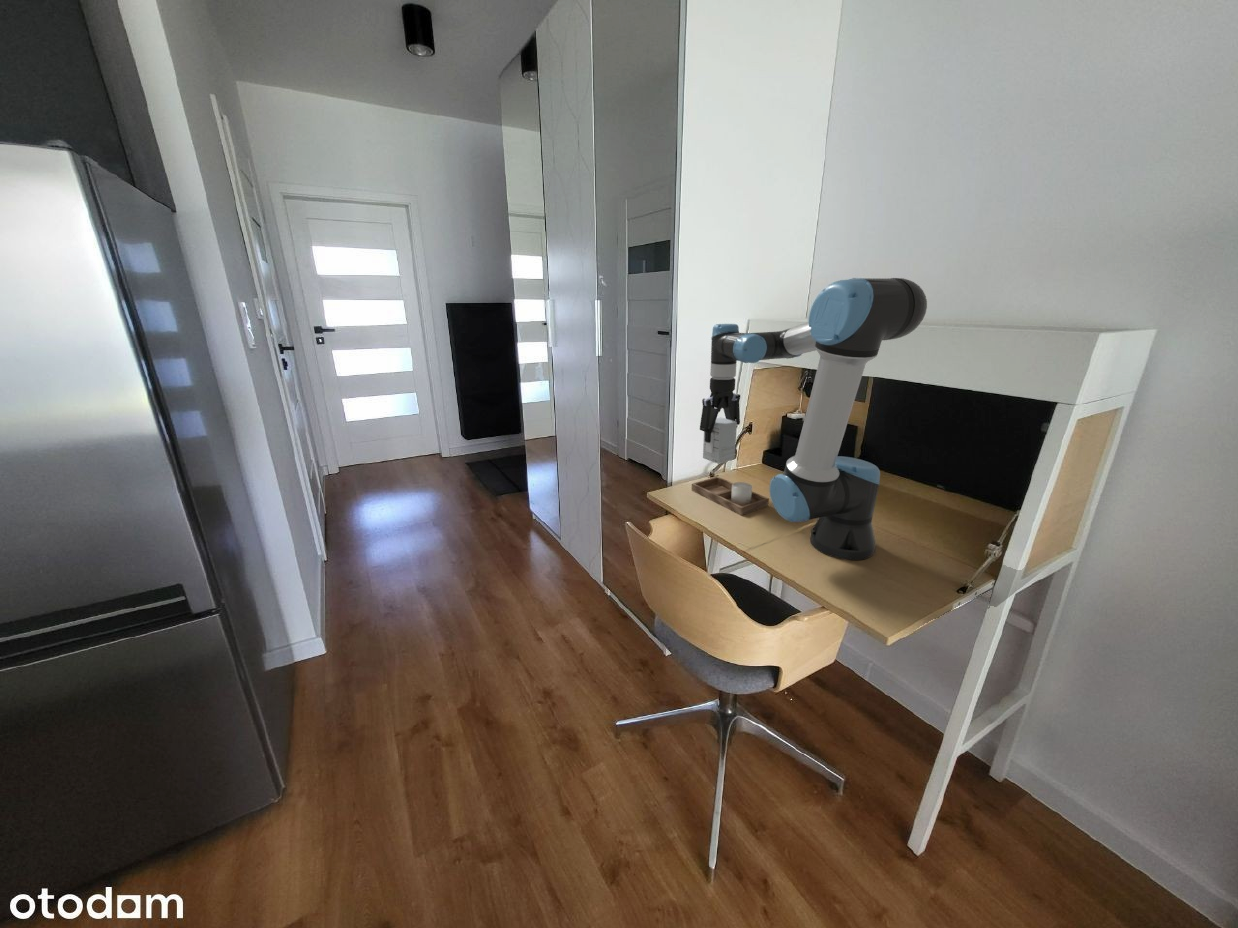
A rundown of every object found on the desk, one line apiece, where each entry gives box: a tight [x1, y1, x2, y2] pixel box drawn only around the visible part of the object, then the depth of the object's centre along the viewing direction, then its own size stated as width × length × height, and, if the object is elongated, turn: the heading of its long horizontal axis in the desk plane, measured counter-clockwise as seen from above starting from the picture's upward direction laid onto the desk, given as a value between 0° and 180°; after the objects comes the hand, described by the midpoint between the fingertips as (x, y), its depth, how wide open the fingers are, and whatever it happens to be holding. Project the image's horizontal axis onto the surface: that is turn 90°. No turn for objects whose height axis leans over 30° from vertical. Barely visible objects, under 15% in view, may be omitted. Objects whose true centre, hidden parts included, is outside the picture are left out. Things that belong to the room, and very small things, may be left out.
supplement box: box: [702, 416, 738, 465], centre depth 144 cm, size 7×7×13 cm
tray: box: [691, 476, 770, 516], centre depth 146 cm, size 22×12×3 cm, turn 32°
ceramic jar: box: [731, 481, 753, 506], centre depth 141 cm, size 6×6×6 cm
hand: (718, 449), depth 145 cm, fingers closed on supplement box, 7 cm apart
